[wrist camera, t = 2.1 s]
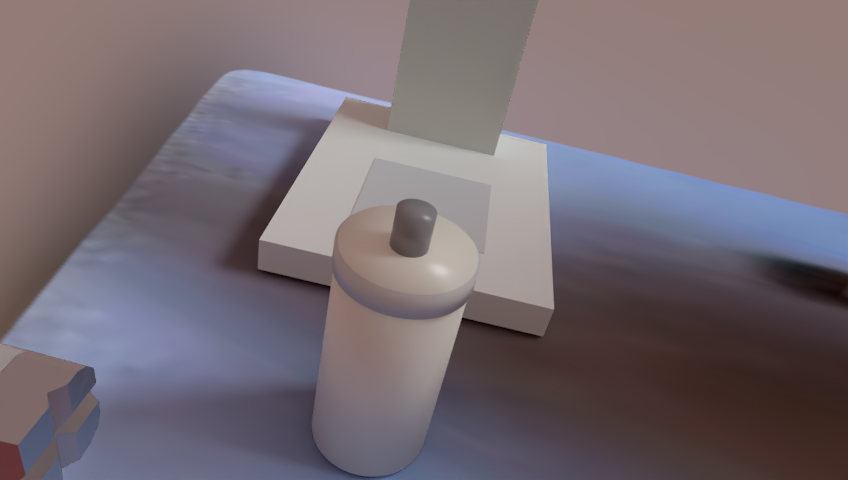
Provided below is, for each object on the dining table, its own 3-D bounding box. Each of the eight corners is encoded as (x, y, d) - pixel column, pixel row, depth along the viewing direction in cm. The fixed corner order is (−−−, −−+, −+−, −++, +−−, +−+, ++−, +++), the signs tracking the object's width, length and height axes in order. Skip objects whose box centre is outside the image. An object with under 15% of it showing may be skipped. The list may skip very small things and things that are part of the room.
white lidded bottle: (371, 364, 32) (414, 157, 25) (450, 433, 29) (521, 224, 23) (284, 418, 28) (307, 194, 22) (366, 502, 26) (420, 279, 19)
